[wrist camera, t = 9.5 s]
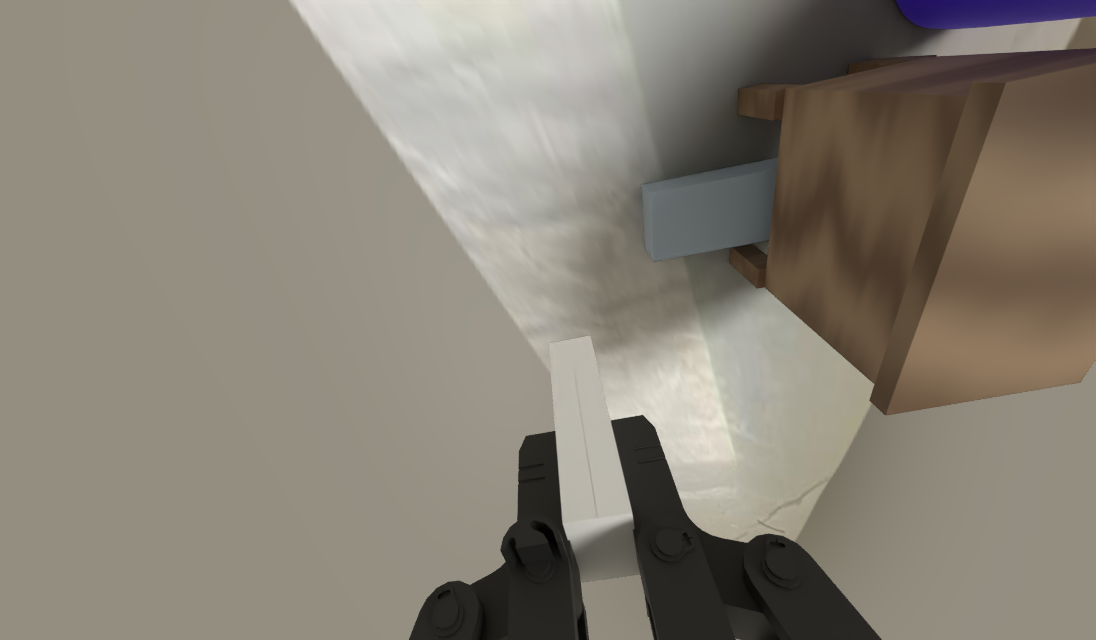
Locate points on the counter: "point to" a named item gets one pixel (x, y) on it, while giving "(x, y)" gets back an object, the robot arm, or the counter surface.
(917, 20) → the bottle
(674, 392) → the counter surface
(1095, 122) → the cabinet
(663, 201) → the batten
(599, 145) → the counter surface
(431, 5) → the counter surface
